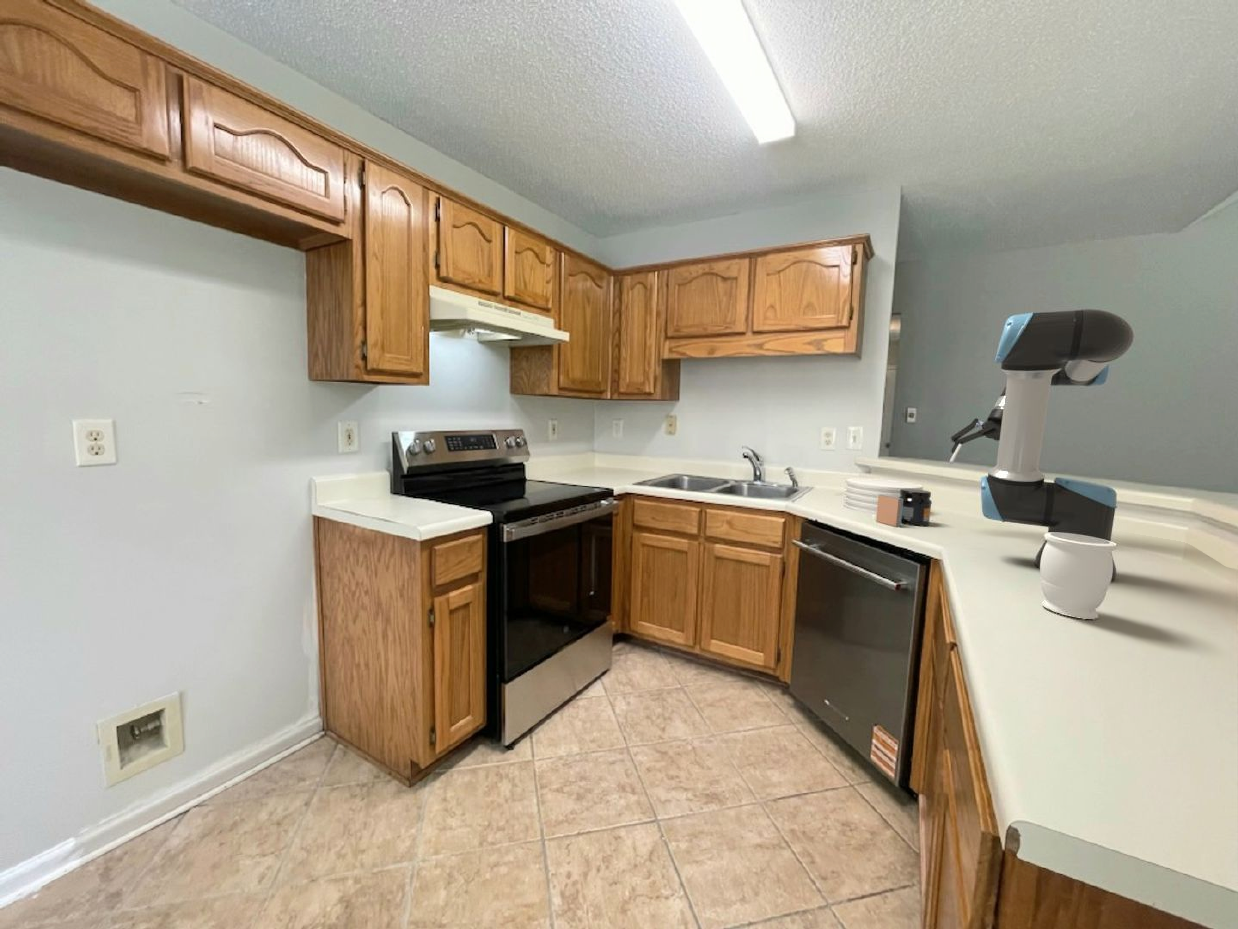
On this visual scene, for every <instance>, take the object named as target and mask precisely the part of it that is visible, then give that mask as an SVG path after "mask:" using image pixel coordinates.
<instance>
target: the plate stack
mask: <svg viewBox="0 0 1238 929" xmlns="http://www.w3.org/2000/svg"><path fill="white" fill-rule="evenodd" d="M845 483H846V484H845V487H844V489H845V491H844V495H845V496H844V503H843V507H845V508H846V509H849V510H851V511H855V512H860V513H864V514H872V515H876V516H877V505H878V495H880V494H883V495H887V496H892V497H897V498H899V497H900V496H901V495H900V490H901V489H918V490H924V485H922V484H918V483H915V482H909V481H906V480H905V481H903V480H895V479H887V478H874V477H850V478H846V479H845Z"/></svg>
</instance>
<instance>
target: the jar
mask: <svg viewBox="0 0 1238 929" xmlns="http://www.w3.org/2000/svg"><path fill="white" fill-rule="evenodd" d="M1043 538H1044V541H1045V540H1047V543H1046V545H1045V547H1044V549H1043V552H1042V556H1041V562H1040V568H1039V572H1040V583H1041V584H1040V585H1041V586H1040V587H1041V591H1042V594H1043V597H1045V598H1044V600H1043V601H1042V602H1041V606H1042V605H1043V606H1044V607H1046V608H1049V609H1051V610H1053V611H1056V612H1058V613H1064V614H1067V615H1071V616H1074V617H1080V618H1086V619H1093V620H1096V619H1095V618H1097V619H1098V618H1099V614H1098V612H1097V609H1098V608H1099V607H1100V606H1101V605H1102V603H1103V602H1104V600H1105V597H1106V595H1107V592H1108V590H1109V587H1110V585H1111V582H1112V581H1111V579H1112V573H1113V560H1114V558H1113V559H1112V556H1113V554H1112V555H1111V553H1112V551H1115V550H1116V548H1117V543H1115V542H1113V541H1112V540H1111V541H1108V540H1104V539H1100V538H1096V537H1091V536H1085V535H1079V534H1071V533H1058V532H1049V533H1048V532H1045V533H1044V535H1043ZM1043 606H1042V607H1043ZM1044 607H1043V608H1044Z"/></svg>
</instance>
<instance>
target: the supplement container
mask: <svg viewBox="0 0 1238 929" xmlns="http://www.w3.org/2000/svg"><path fill="white" fill-rule="evenodd" d="M900 495H901V496H900V497H899V498H902V499H903V509H902V518H901V524H902V523H903V524H904V525H906V524H908V526H913V525H914V527H925V526H926V527H927V526H928V525H929V524H930V519H931V510H932V509H931V507H932V504H933V503H932V502H933V501H932V500H931V498H932V497H931V496H932V492H930V491H929V490H924V489H923V490H918V489H901V490H900Z"/></svg>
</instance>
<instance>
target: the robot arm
mask: <svg viewBox="0 0 1238 929" xmlns="http://www.w3.org/2000/svg"><path fill="white" fill-rule="evenodd" d="M1134 337H1135V336H1134V331H1133V328H1132V326H1131V325H1130V324H1129V322H1128V321H1126V320H1125V319H1124V318H1123V317H1122V316H1120V315H1117V314H1115V313H1112V312H1110V311H1105V310H1101V309H1093V308H1092V309H1090V308H1087V309H1084V308H1083V309H1077V310H1059V311H1046V312H1045V311H1043V312H1028V313H1021V314H1014V315H1011V316H1009V318H1007V319H1006V321H1005V323H1004V327H1003V330H1002V333H1001V337H1000V340H999V343H998V347H997V352H996V355H995V359H994V362H996V363H997V364H1001V365H1000V369H1001V372H1003V373H1004V375H1006V377H1007V380H1006V385H1005V386H1004V389H1003V391H1001V394H1000V395H999V397H998V399H997V401H996V402H995V404H994V407H993V408H992V410H991V411H990V413H989V415H988V417H987V419H986V420H985V421H984V422H983V421H981V420H979V419H978V418H974V419H973V420H972V421H971V423H969V424H968V425H967V426H965V427H963V428H962V429H961V430H960V431H958V432H956V433H954V435H952V436H951V438H950V441H951V442H952V443H954V444H953V446H952V448H951V452H950V453H951V454H952V456H951V457H950V459H949V464H951V465H952V464H954V462H955V460H956V458H957V456H958V454H959V453H960V451H961V449H962V447H963V445H964V444H967V443H969V442H971V441H973V440H976V439H978V438H979V439H980V438H982V437H984V436H985V437H986V438H987V439H992V440H994V441H997V442H998V441H999V442H998V450H997V458H996V465H994V466H993V467H992V468H990V469H988V472H987V474H988V475H985V476H982V477H981V479H980V494H981V495H980V496H981V497H980V499H981V512H982V516H984V517H985V518H986V519H988V520H992V521H993V520H994V521H999V522H1001V523H1013V524H1019V525H1020V524H1021V525H1027V526H1028V525H1030V526H1034V527H1035V526H1038V527H1045V528H1048V529H1047V530H1048V531H1047V533H1049V532H1058V533H1071V534H1079V535H1085V536H1091V537H1096V538H1100V539H1104V540H1108V541H1111V542H1112V533H1113V527H1114V520H1115V512H1116V509H1117V508H1118V506H1117V497H1118V496H1117V491H1116V490H1115V489H1114V488H1112V487H1110V486H1107V485H1104V484H1101V483H1100V484H1099V483H1095V482H1090V481H1086V480H1085V481H1084V480H1079V479H1074V478H1068V477H1062V476H1057V477H1055V478H1054V480H1053V482H1050V481H1045V479H1046V478H1045V477H1046V476H1045V474H1044V473H1043V472H1042V471H1040V469H1039V465H1040V458H1041V452H1042V445H1043V439H1044V434H1045V433H1044V432H1045V426H1046V419H1047V413H1048V405H1049V399H1050V391H1051V387H1055V386H1056V387H1057V386H1058V387H1059V386H1063V387H1067V386H1073V387H1074V386H1076V387H1077V386H1078V387H1081V386H1083V387H1091V386H1092V387H1093V386H1102V385H1104V384H1105V383H1106V381H1107V379H1108V376H1109V370H1110V369H1109V367H1110V363H1111V362H1112V361H1116V360H1118V359H1120V358H1121V357H1122V356H1123V355H1124V354H1126V353H1127V352H1128V350H1129V349H1130V348H1131V347H1132V345H1133V343H1134V342H1133V341H1134ZM978 427H981V429H979V430H978V431H976V432H973V433H971V434H968V433H969V432H971V431H972V430H973V429H975V428H978ZM966 434H968V435H966ZM965 435H966V436H965ZM1046 543H1047V540H1045V539H1044V542H1043V543H1042V545H1041V547H1040V549H1039V550H1038V552H1037V554H1036V556H1035V559H1034V560H1035V561H1034V565H1035V566H1036V567H1037V568H1039V569H1040V562H1041V556H1042V552H1043V549H1044V547H1045V545H1046ZM1111 555H1112V559H1113V573H1112V579H1111V582H1112V581H1115V580H1116V577H1117V567H1116V565H1115V564H1116V563H1115V561H1114V560H1115V559H1114V558H1113V553H1112V552H1111Z"/></svg>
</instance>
